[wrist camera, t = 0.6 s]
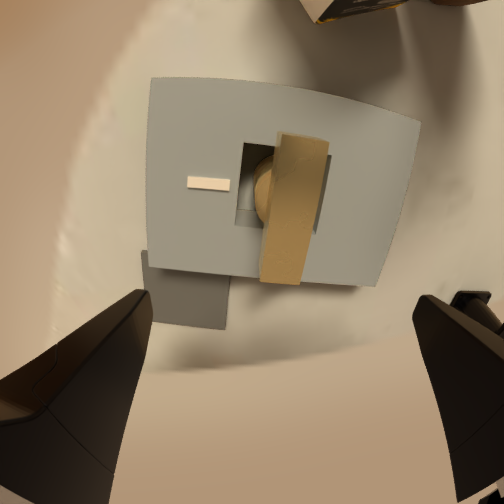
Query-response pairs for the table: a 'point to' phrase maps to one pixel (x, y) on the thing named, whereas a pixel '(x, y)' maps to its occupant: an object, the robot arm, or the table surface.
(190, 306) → the pad
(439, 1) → the beer bottle
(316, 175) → the t key
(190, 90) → the grey socket block
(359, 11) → the medicine bottle
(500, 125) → the table surface
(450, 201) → the table surface
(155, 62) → the table surface
